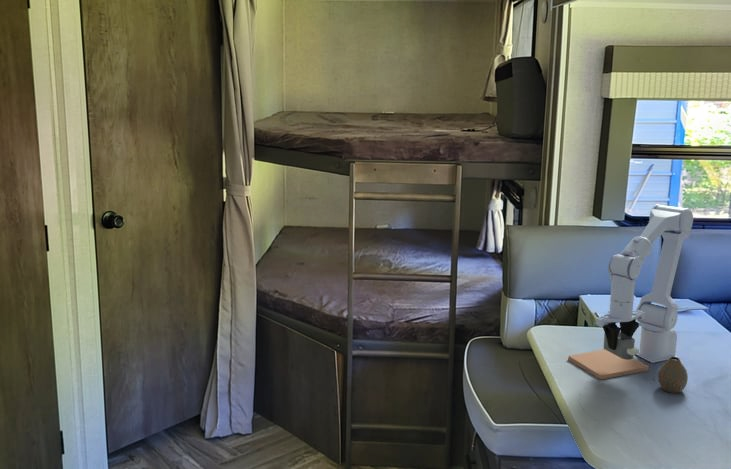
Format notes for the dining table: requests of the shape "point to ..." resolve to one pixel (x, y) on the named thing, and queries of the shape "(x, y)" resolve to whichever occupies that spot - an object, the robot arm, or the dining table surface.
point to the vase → (672, 375)
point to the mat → (607, 364)
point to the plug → (623, 347)
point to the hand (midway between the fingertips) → (618, 347)
